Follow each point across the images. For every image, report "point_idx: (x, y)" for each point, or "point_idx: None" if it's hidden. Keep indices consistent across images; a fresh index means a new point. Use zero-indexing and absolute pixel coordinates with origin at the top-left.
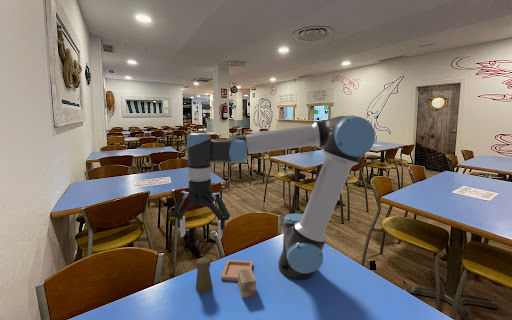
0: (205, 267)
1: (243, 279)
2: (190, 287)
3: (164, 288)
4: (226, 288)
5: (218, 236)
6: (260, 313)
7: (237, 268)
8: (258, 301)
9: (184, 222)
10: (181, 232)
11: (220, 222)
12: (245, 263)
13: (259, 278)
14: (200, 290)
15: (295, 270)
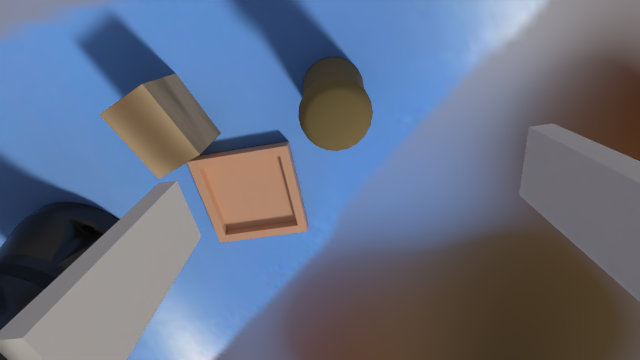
0: (308, 89)
1: (149, 107)
2: (381, 71)
3: (483, 36)
4: (250, 104)
5: (160, 195)
6: (78, 19)
7: (259, 204)
8: (115, 74)
9: (634, 271)
10: (580, 143)
11: (10, 336)
12: (242, 230)
13: (170, 179)
14: (332, 58)
15: (42, 222)
